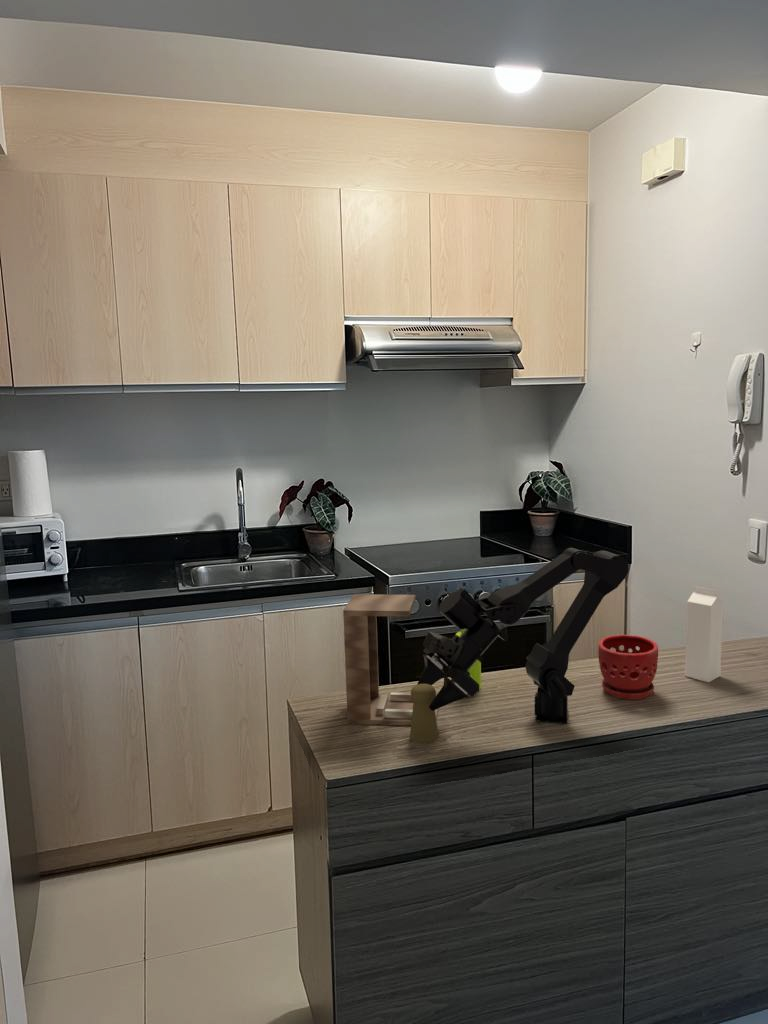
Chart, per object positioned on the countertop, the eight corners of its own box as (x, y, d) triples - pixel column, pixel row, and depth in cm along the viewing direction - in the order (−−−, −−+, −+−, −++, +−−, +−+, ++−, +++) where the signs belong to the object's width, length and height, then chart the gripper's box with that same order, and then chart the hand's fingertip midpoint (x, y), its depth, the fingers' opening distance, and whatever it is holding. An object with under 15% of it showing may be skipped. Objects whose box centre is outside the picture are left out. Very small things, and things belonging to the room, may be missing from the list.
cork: (436, 744, 152) (435, 692, 151) (407, 742, 154) (405, 690, 152) (440, 731, 158) (439, 681, 156) (412, 729, 159) (410, 679, 158)
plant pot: (591, 682, 182) (592, 634, 180) (647, 681, 182) (648, 633, 180) (605, 704, 169) (606, 653, 167) (665, 703, 169) (666, 652, 167)
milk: (696, 670, 188) (699, 583, 185) (720, 676, 183) (724, 587, 180) (684, 676, 184) (687, 588, 181) (708, 683, 180) (712, 592, 176)
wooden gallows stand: (439, 701, 173) (437, 594, 169) (435, 726, 161) (433, 611, 157) (357, 699, 176) (354, 594, 172) (347, 723, 163) (343, 610, 159)
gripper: (431, 606, 162) (383, 661, 161) (464, 632, 145) (409, 694, 143) (466, 638, 166) (419, 692, 164) (502, 666, 148) (449, 727, 147)
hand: (423, 700), depth 155 cm, fingers open, 9 cm apart
